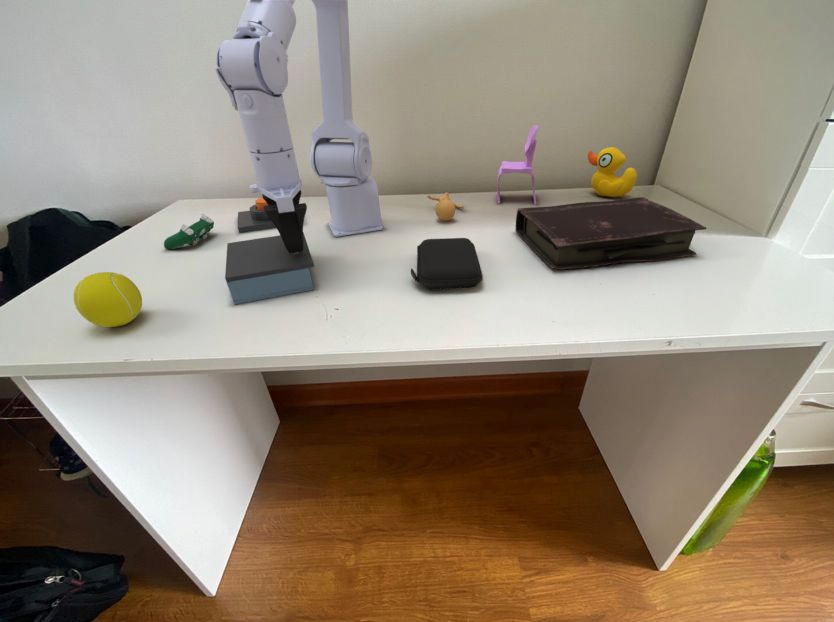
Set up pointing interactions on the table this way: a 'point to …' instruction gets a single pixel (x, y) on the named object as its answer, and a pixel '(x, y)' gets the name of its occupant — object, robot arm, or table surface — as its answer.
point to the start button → (260, 203)
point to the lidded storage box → (270, 285)
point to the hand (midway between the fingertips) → (294, 244)
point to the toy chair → (521, 166)
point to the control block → (254, 220)
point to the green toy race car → (190, 233)
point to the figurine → (445, 207)
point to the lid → (263, 258)
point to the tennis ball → (107, 299)
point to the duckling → (611, 173)
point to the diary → (606, 232)
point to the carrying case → (447, 264)
